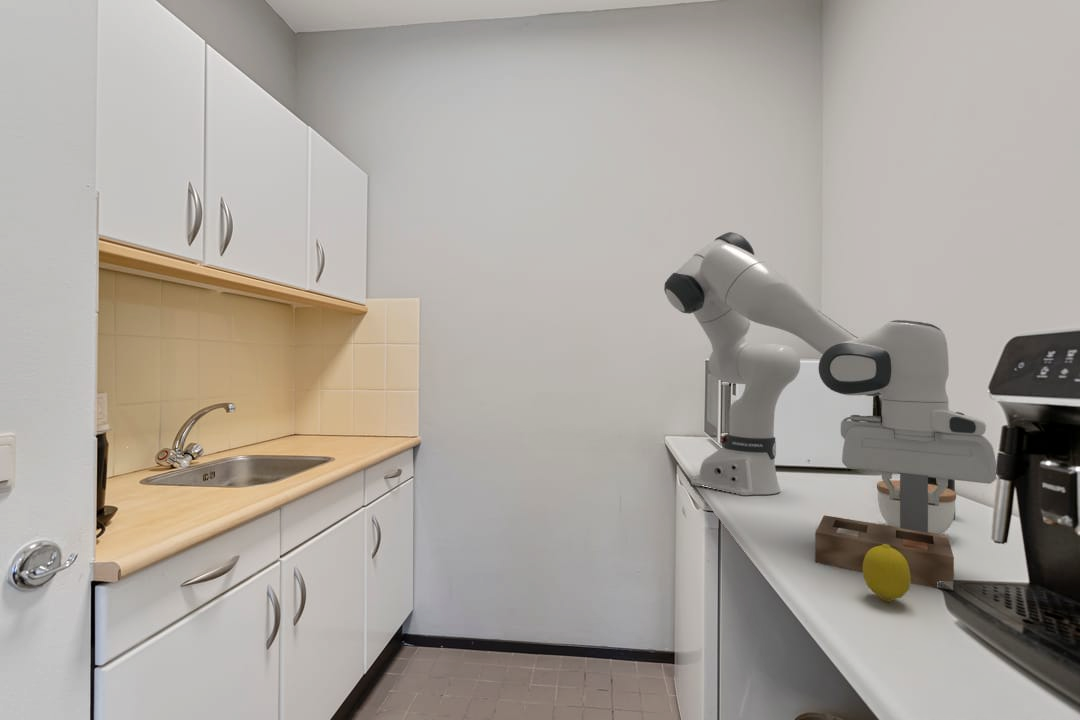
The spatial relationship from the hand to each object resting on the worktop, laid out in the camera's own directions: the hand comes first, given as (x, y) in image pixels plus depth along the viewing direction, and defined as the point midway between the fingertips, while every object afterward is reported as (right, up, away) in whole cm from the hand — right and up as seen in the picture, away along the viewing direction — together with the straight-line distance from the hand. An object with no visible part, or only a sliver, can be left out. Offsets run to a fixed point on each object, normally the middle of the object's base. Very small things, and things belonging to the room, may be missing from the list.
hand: (913, 502), depth 82 cm
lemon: (-13, -11, -12) cm, 21 cm away
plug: (0, -4, 0) cm, 4 cm away
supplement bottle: (+27, -12, +29) cm, 41 cm away
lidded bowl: (+13, -11, +17) cm, 24 cm away
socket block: (-4, -11, +1) cm, 12 cm away
